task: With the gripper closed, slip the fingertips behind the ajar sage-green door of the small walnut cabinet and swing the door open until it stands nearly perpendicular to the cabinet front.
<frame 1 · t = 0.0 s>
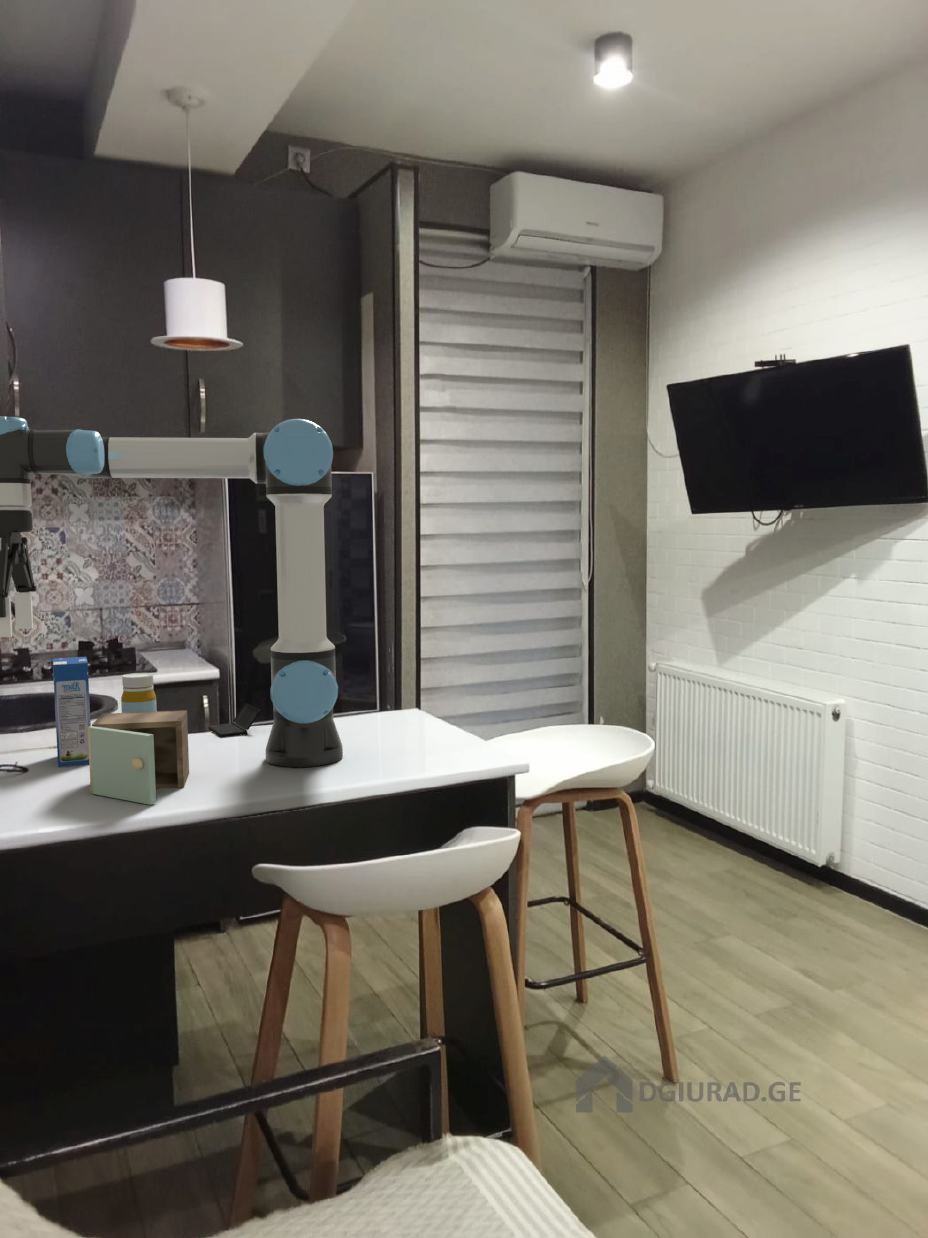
hand: (14, 632, 166), 28 cm above the counter, fingers open, 13 cm apart
handheld gaming console: (234, 732, 217), on the counter
bottle: (140, 745, 204), on the counter
walnut cabinet: (143, 782, 173), on the counter
milk carton: (75, 760, 191), on the counter
cabinet door: (117, 765, 162), point 6 cm above the counter, hinge at 40.0°
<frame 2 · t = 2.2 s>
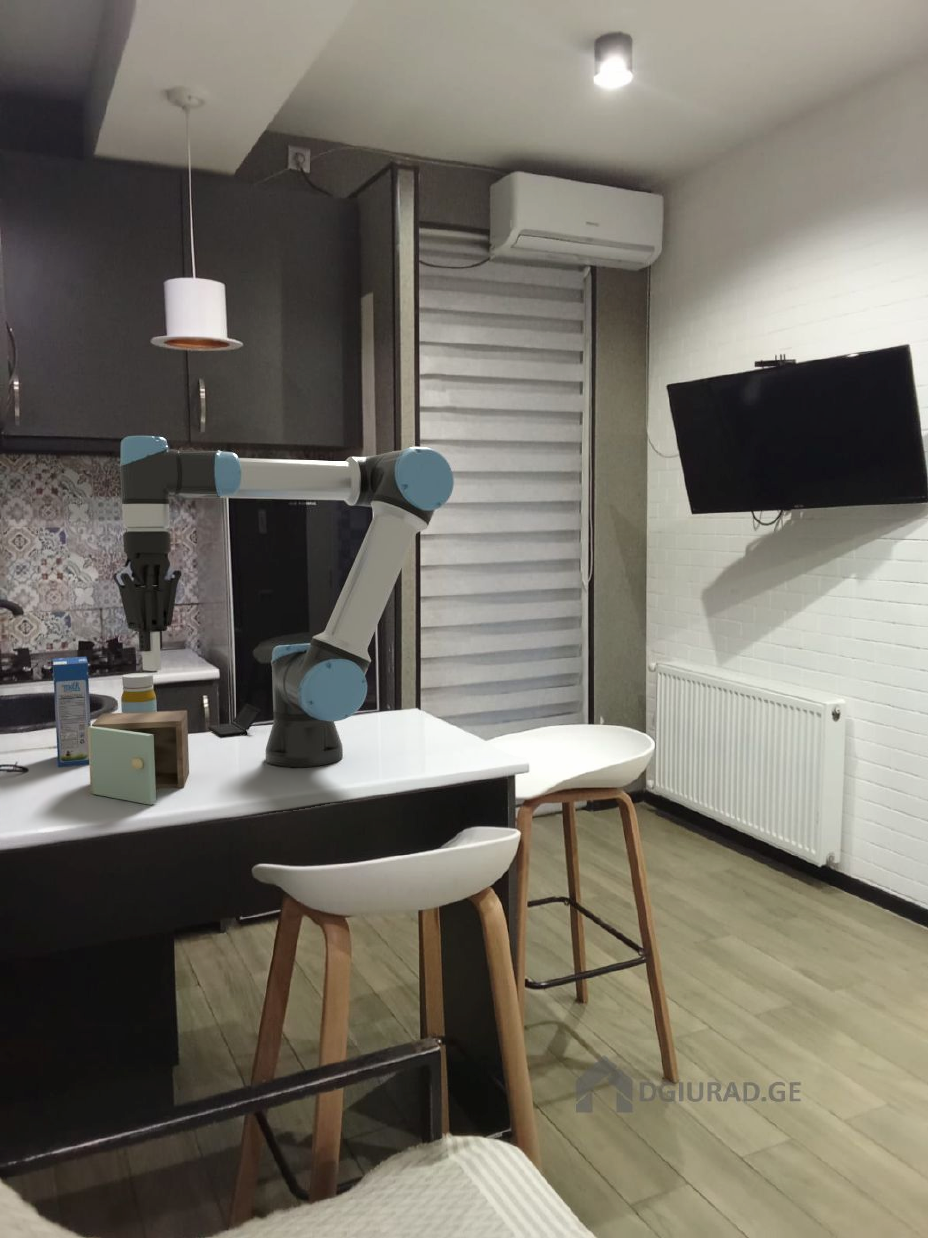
hand: (151, 669, 162), 22 cm above the counter, fingers closed
nothing on the counter moved.
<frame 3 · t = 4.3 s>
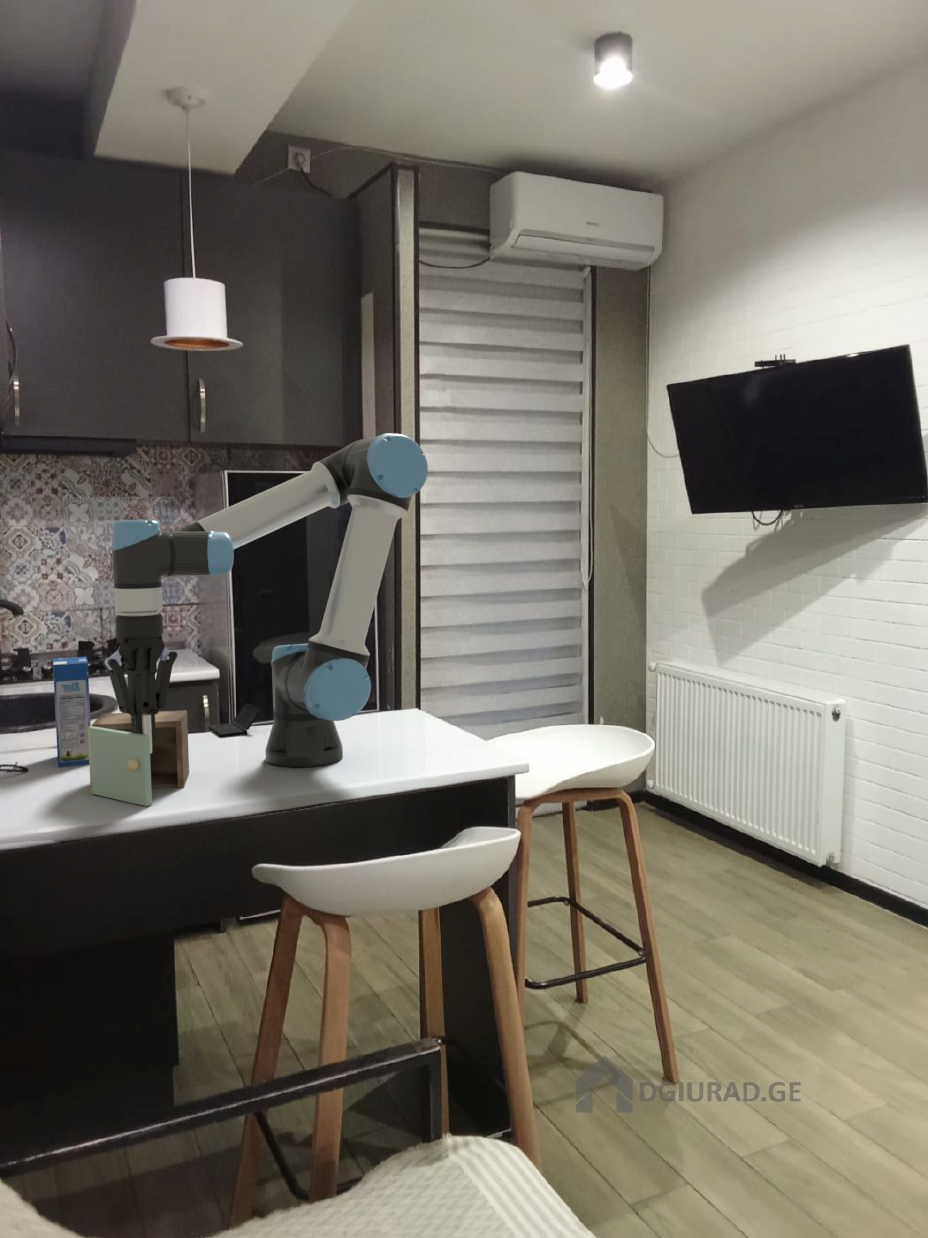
hand: (144, 752, 161), 8 cm above the counter, fingers closed
cabinet door: (115, 765, 161), point 6 cm above the counter, hinge at 43.6°, touching gripper
everything else where it was.
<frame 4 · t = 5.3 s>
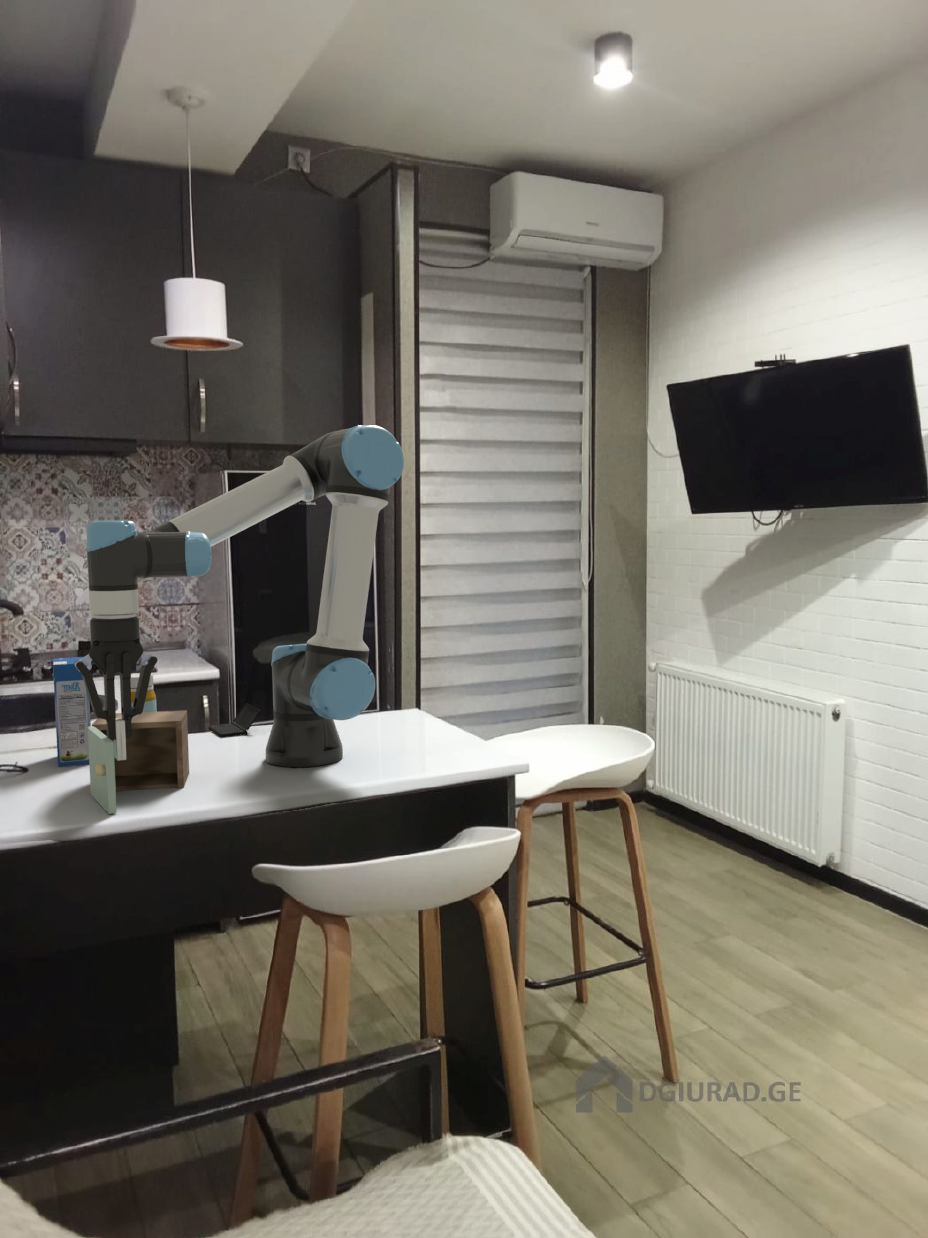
hand: (120, 758, 158), 8 cm above the counter, fingers closed
cabinet door: (97, 768, 159), point 6 cm above the counter, hinge at 68.3°, touching gripper
everything else where it was.
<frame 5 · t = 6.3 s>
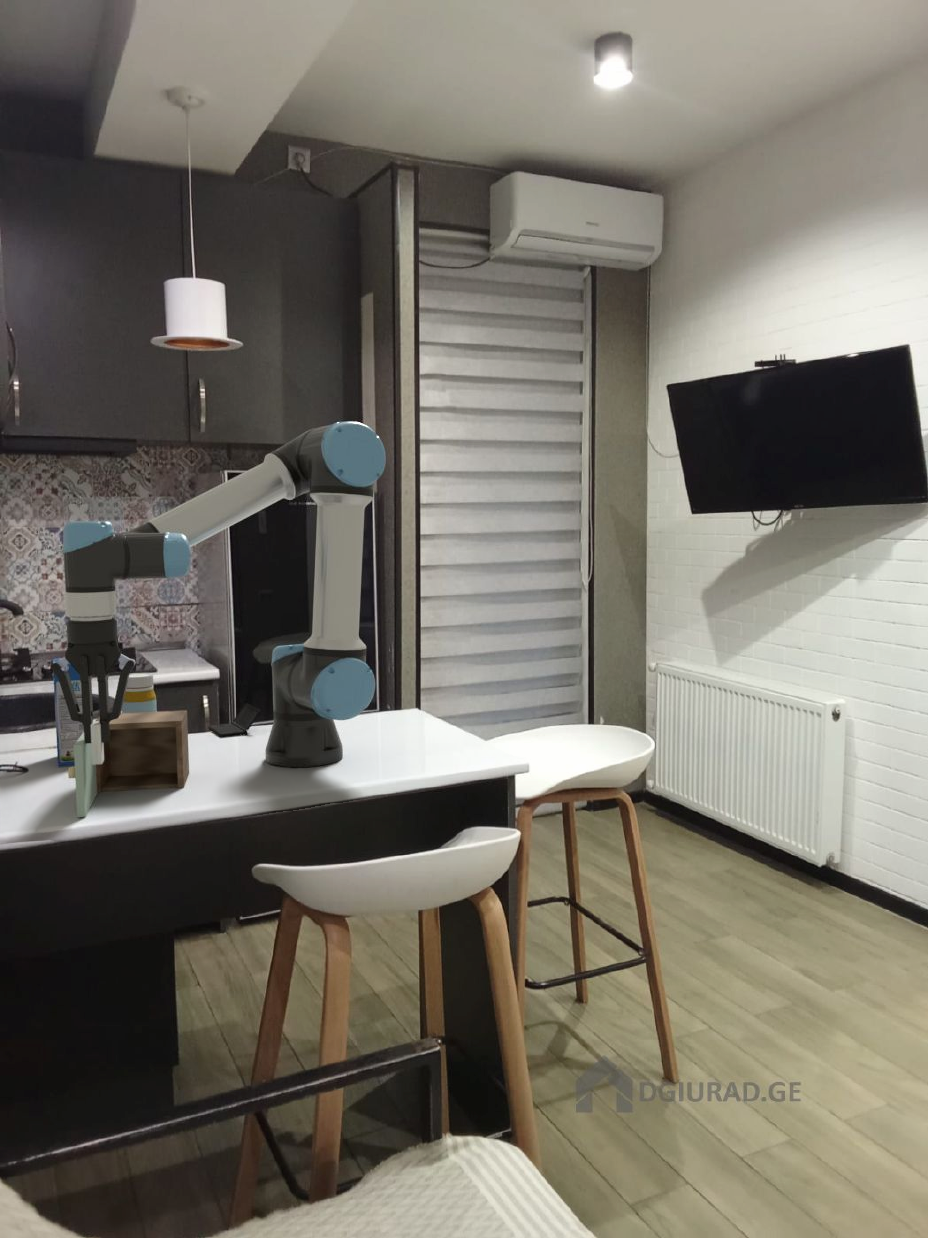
hand: (98, 762, 156), 8 cm above the counter, fingers closed
cabinet door: (82, 770, 159), point 6 cm above the counter, hinge at 87.0°, touching gripper
everything else where it was.
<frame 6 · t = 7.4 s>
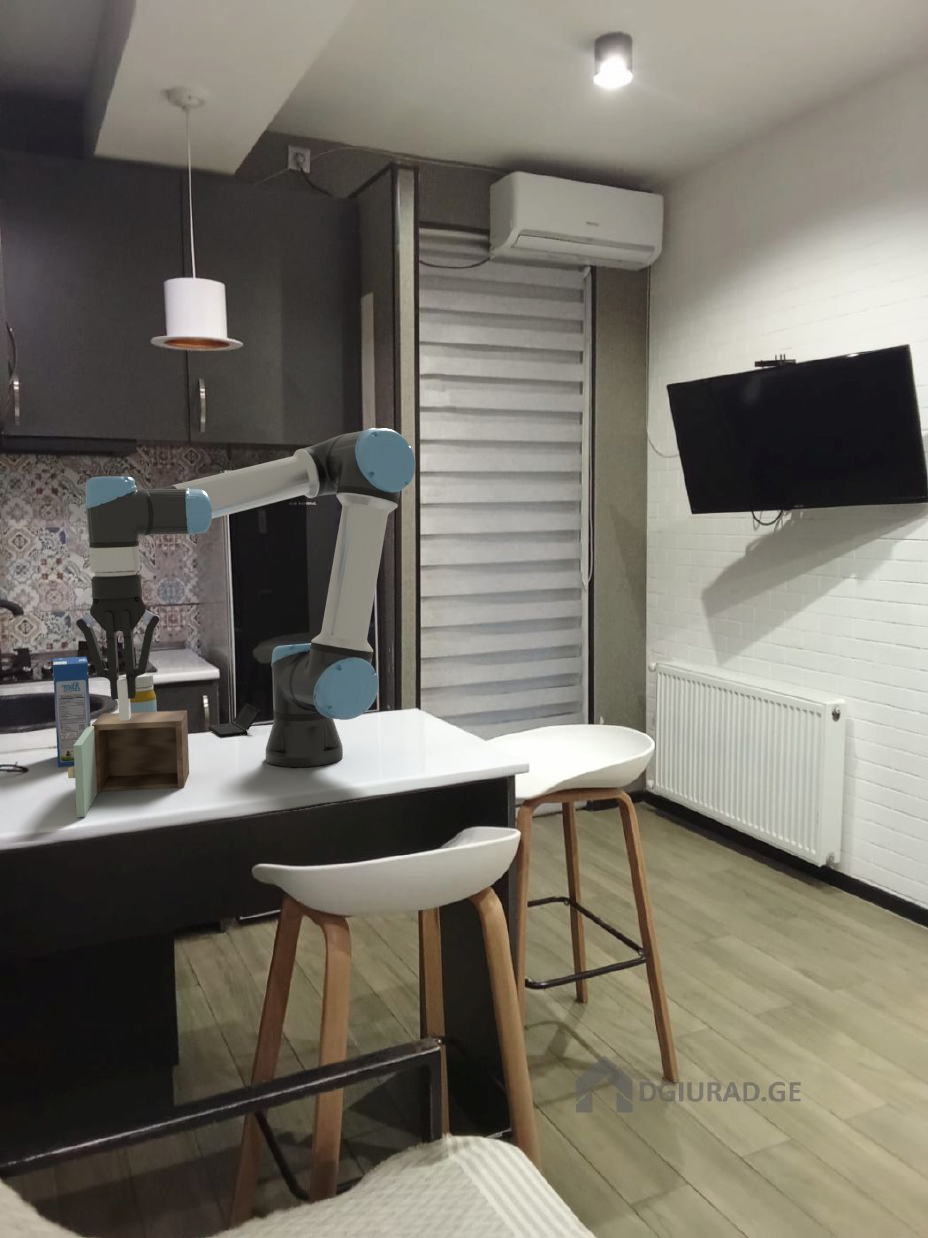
hand: (125, 718, 156), 15 cm above the counter, fingers closed
cabinet door: (82, 770, 159), point 6 cm above the counter, hinge at 87.2°
everything else where it was.
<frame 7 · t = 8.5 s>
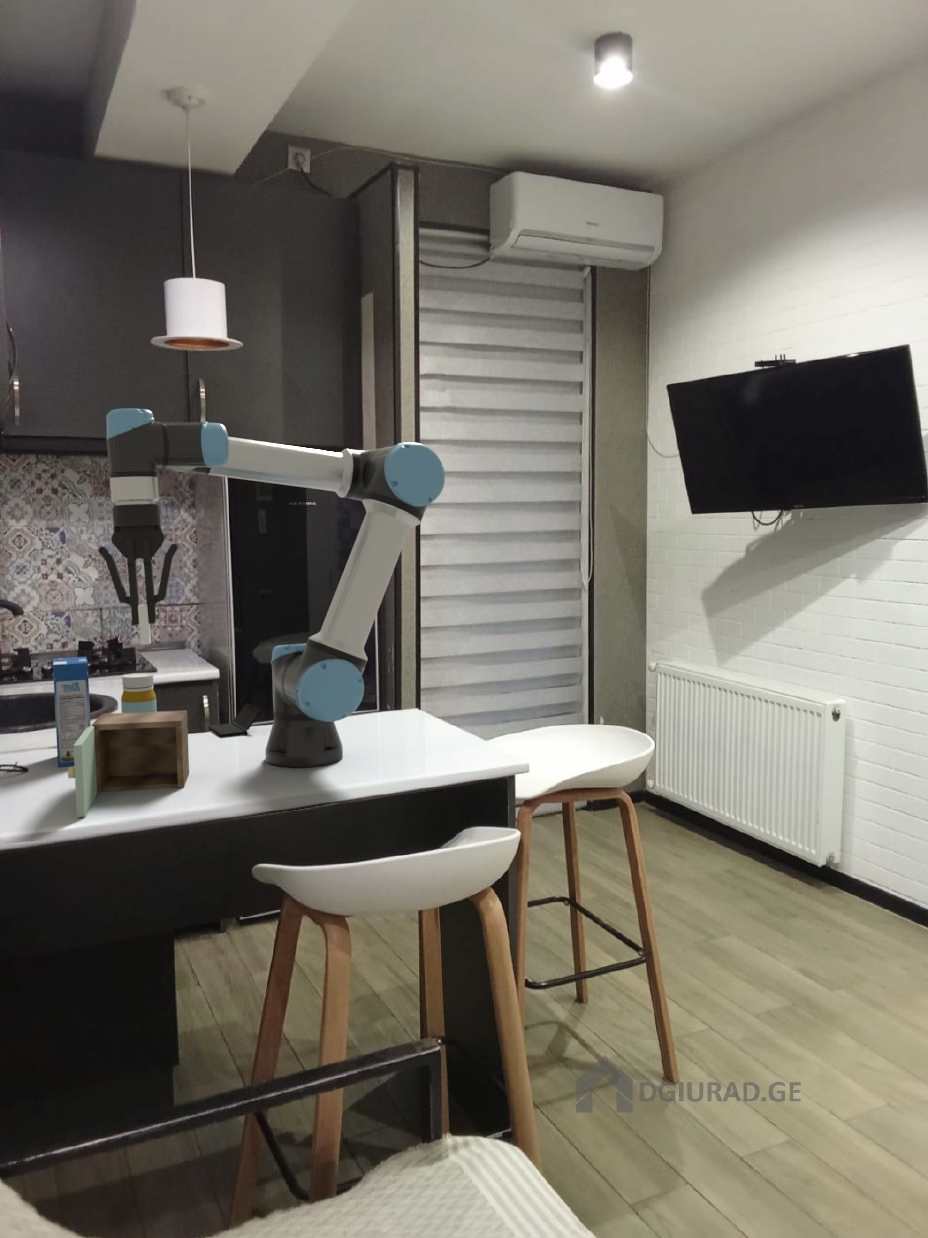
hand: (145, 643, 162), 26 cm above the counter, fingers closed
nothing on the counter moved.
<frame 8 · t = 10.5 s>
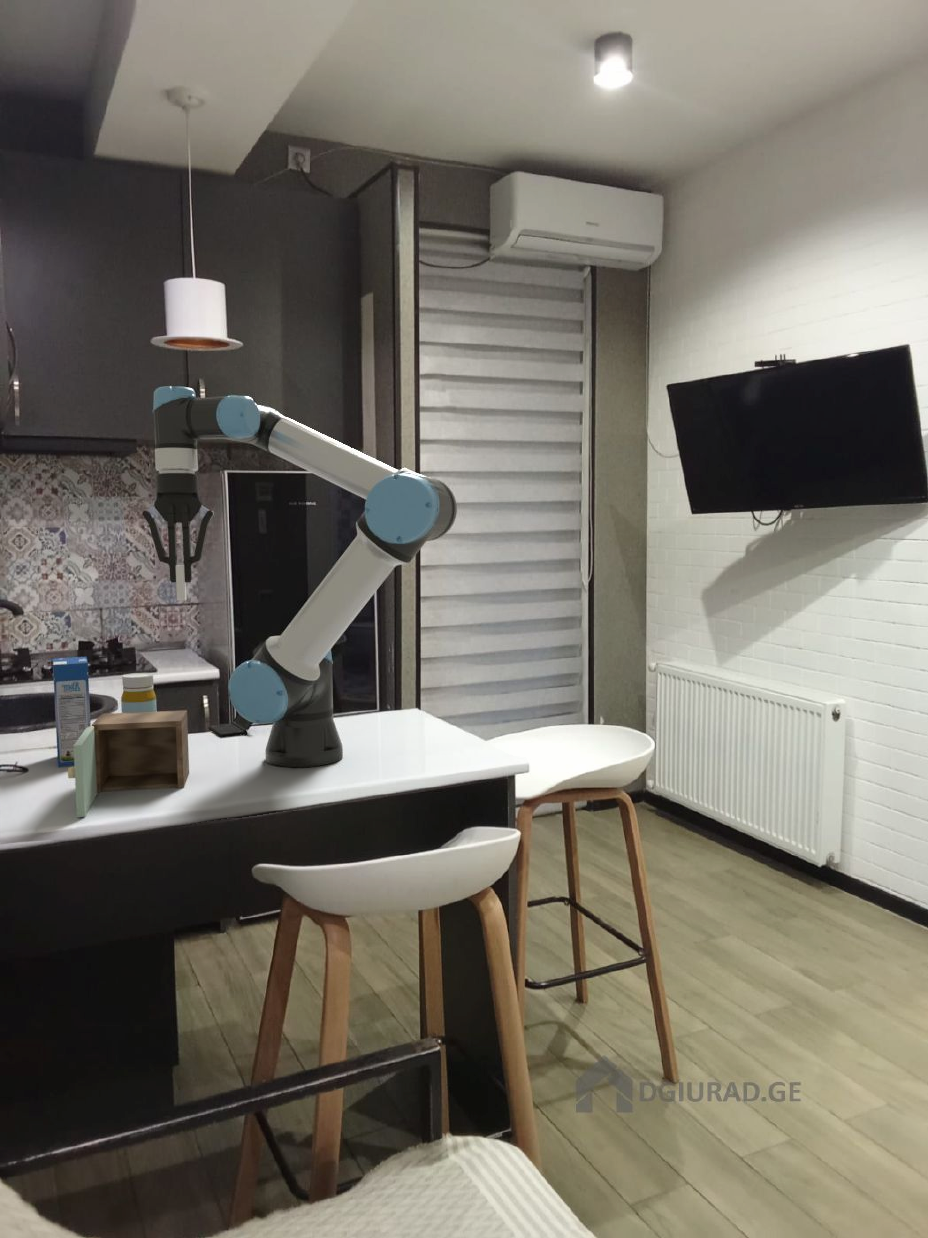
hand: (181, 599, 179), 32 cm above the counter, fingers closed
nothing on the counter moved.
at the end: cabinet door at +87° (first picture: +40°) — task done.
